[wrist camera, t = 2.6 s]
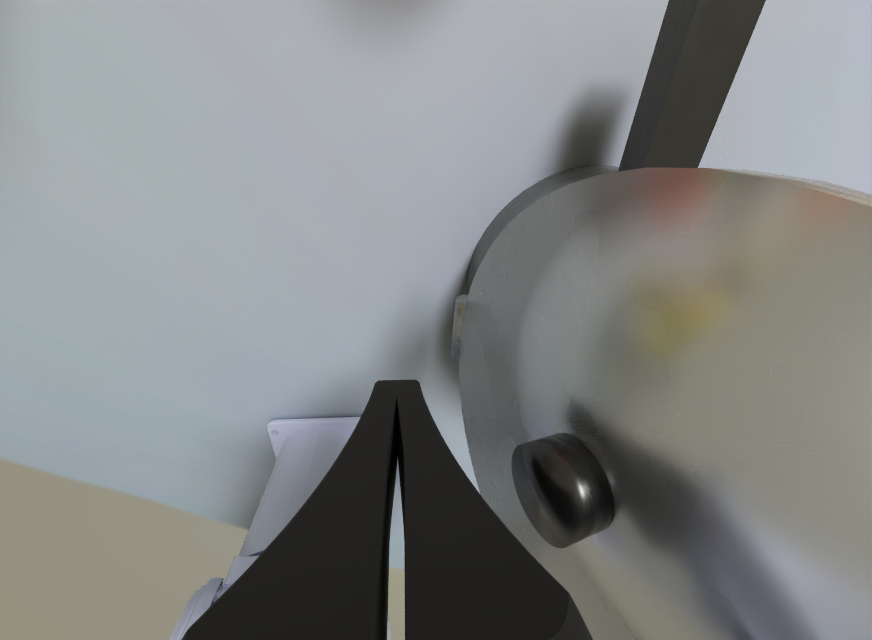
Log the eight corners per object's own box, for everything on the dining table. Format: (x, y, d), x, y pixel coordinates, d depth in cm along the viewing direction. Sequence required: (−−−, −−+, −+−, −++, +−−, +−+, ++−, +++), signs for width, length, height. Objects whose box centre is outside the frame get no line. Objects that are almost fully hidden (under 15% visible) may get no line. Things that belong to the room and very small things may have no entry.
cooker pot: (633, 368, 25) (682, 416, 21) (456, 371, 23) (469, 424, 19) (778, 39, 15) (927, -1, 11) (494, 9, 14) (536, -51, 10)
